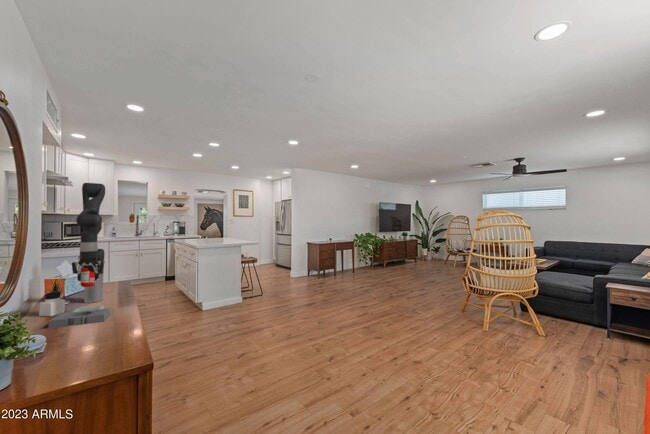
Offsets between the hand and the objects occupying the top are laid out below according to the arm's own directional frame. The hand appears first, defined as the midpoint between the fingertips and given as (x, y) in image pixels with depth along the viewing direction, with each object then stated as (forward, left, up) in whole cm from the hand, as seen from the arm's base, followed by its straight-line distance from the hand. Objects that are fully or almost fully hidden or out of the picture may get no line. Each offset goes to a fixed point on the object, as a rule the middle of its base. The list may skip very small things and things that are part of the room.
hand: (88, 280), depth 151 cm
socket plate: (+13, +2, -18) cm, 23 cm away
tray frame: (0, 0, -18) cm, 18 cm away
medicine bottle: (-7, -17, -19) cm, 26 cm away
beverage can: (0, 0, -3) cm, 3 cm away
